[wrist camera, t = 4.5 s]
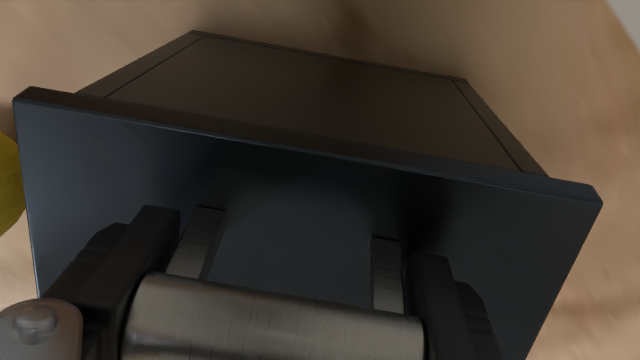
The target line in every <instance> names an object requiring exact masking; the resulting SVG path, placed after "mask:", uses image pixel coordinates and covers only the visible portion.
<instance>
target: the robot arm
mask: <svg viewBox="0 0 640 360" xmlns="http://www.w3.org/2000/svg"><path fill="white" fill-rule="evenodd" d="M180 224H181V214H180V211H179V210H175V209H169V208H163V207H158V206H152V205H144V206H143V207H142V208H141V210H140V211H139V212H138V214H137V215H136V216H135V218H134V219H133V220H132V221H131V223H130V224H123V223H117V222H115V223H114V224H112V225H110V226H108V227H106V228H104V229H102V230H100V231H98V232H96V233H95V234H94V236H93V237H92V238H91V239H90V240H89V241H88V243H87V244H86V245H85V246H84V249H82V250H81V251H80V252H79V253H78V255H77V256H76V257H75V259H74V261H72V262H71V263H70V264H69V265H68V266H67V268H66V269H65V270H64V271H63V272H62V273H61V275H60V276H59V277H58V278H57V279H56V281H55V282H54V283H53V284H52V285H51V286H50V288H49V289H48V290H47V291H46V292H45V294H44V295H43V296H42V297H41V298H38V299H31V300H26V301H22V302H19V303H16V304H14V305H11V306H9V307H7V308H5V309H4V310H2V311H1V312H0V360H120V358H119V352H120V341H121V334H122V329H123V324H124V320H125V316H126V313H127V309H128V306H129V303H130V300H131V298H132V295H133V293H134V291H135V289H136V286H137V285H138V283H139V281H140V280H141V278H142V277H143V275H144V274H145V273H147V272H150V271H156V272H162V273H163V272H164V270H165V268H166V266H167V264H168V262H169V260H170V258H171V256H172V254H173V252H174V250H175V247H176V245H177V243H178V241H179V237H180ZM403 280H404V292H405V304H406V314H407V315H413V316H417V317H419V318H421V319H422V321H423V323H424V327H425V332H426V340H427V360H504V359H503V356H502V354H501V351H500V348H499V345H498V342H497V339H496V337H495V334H494V333H493V328H492V325H491V322H490V320H489V319H488V314H487V311H486V308H485V305H484V302H483V300H482V298H481V297H480V296H479V295H478V294H477V293H476V292H475V290H474V289H473V288H472V287H471V286H470V285H469V284H468V283H464V282H458V281H454V278H453V275H452V271H451V268H450V264H449V261H448V258H447V257H445V256H440V255H434V254H428V253H422V252H416V251H413V252H412V253H411V255H410V258H409V261H408V264H407V268H406V272H405V275H404V279H403Z"/></svg>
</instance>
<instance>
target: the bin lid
mask: <svg viewBox="0 0 640 360" xmlns="http://www.w3.org/2000/svg"><path fill="white" fill-rule="evenodd" d="M12 105H13V113H14V120H15V128H16V136H17V143H18V151H19V158H20V166H21V174H22V181H23V189H24V197H25V204H26V212H27V219H28V227H29V235H30V242H31V250H32V257H33V265H34V273H35V280H36V288H37V295H38V298H41V297H42V296H43V295H44V294H45V292H46V291H47V290H48V289H49V288H50V286H51V285H52V284H53V283H54V282H55V281H56V279H57V278H58V277H59V276H60V275H61V273H62V272H63V271H64V270H65V269H66V268H67V266H68V265H69V264H70V263H71V262H72V261H74V259H75V257H76V256H77V255H78V253H79V252H80V251H81V250H82V249H84V246H85V245H86V244H87V243H88V241H89V240H90V239H91V238H92V237H93V236H94V234H95V233H96V232H98V231H100V230H102V229H104V228H106V227H108V226H110V225H112V224H114V223H115V222H117V223H123V224H130V223H131V221H132V220H133V219H134V218H135V216H136V215H137V214H138V212H139V211H140V210H141V208H142V207H143V206H144V205H152V206H158V207H163V208H169V209H175V210H179V211H180V214H181V224H180V237H179V241H178V243H177V245H176V247H175V250H174V252H173V254H172V256H171V258H170V260H169V262H168V264H167V266H166V268H165V270H164V272H163V273H162V272H156V271H150V272H147V273H145V274H144V275H143V277H142V278H141V280H140V281H139V283H138V285H137V286H136V289H135V291H134V293H133V295H132V298H131V300H130V303H129V306H128V309H127V313H126V316H125V320H124V324H123V329H122V334H121V341H120V352H119V358H120V360H427V340H426V332H425V327H424V323H423V321H422V319H421V318H419V317H417V316H413V315H407V314H406V304H405V292H404V280H403V279H404V275H405V272H406V268H407V264H408V261H409V258H410V255H411V253H412V252H413V251H416V252H422V253H428V254H434V255H440V256H445V257H447V258H448V261H449V264H450V268H451V271H452V275H453V278H454V281H458V282H464V283H468V284H469V285H470V286H471V287H472V288H473V289H474V290H475V292H476V293H477V294H478V295H479V296H480V297H481V298H482V300H483V302H484V305H485V308H486V311H487V314H488V319H489V320H490V322H491V325H492V328H493V333H494V334H495V337H496V339H497V342H498V345H499V348H500V351H501V354H502V356H503V359H504V360H525V359H526V357H527V355H528V353H529V351H530V349H531V347H532V345H533V343H534V341H535V339H536V337H537V335H538V333H539V331H540V329H541V327H542V325H543V323H544V321H545V319H546V317H547V315H548V313H549V311H550V310H551V308H552V306H553V304H554V302H555V300H556V298H557V296H558V294H559V292H560V290H561V288H562V286H563V284H564V282H565V280H566V278H567V276H568V274H569V272H570V270H571V268H572V266H573V264H574V262H575V260H576V258H577V256H578V254H579V252H580V250H581V248H582V246H583V244H584V242H585V240H586V238H587V236H588V234H589V232H590V230H591V228H592V226H593V224H594V222H595V220H596V218H597V216H598V214H599V212H600V210H601V208H602V206H603V201H602V199H601V198H600V196H599V195H598V193H597V192H596V190H595V189H594V187H593V186H591V185H589V184H583V183H578V182H572V181H566V180H561V179H555V178H549V177H544V176H538V175H532V174H527V173H521V172H515V171H510V170H504V169H498V168H493V167H487V166H481V165H476V164H470V163H464V162H459V161H453V160H447V159H442V158H436V157H431V156H425V155H419V154H414V153H408V152H402V151H397V150H391V149H385V148H380V147H374V146H368V145H363V144H357V143H351V142H346V141H340V140H334V139H329V138H323V137H317V136H312V135H306V134H300V133H295V132H289V131H283V130H278V129H272V128H266V127H261V126H255V125H249V124H244V123H238V122H233V121H227V120H221V119H216V118H210V117H204V116H199V115H193V114H187V113H182V112H176V111H170V110H165V109H159V108H153V107H148V106H142V105H136V104H131V103H125V102H119V101H114V100H108V99H102V98H97V97H91V96H85V95H80V94H74V93H68V92H63V91H57V90H51V89H46V88H40V87H35V86H30V87H28V88H26V89H25V90H23V91H22V92H21V93H19V94H18V95H16V96H15V97H13V100H12Z"/></svg>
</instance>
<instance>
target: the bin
mask: <svg viewBox="0 0 640 360" xmlns="http://www.w3.org/2000/svg"><path fill="white" fill-rule="evenodd" d="M74 94H80V95H85V96H91V97H97V98H102V99H108V100H114V101H119V102H125V103H131V104H136V105H142V106H148V107H153V108H159V109H165V110H170V111H176V112H182V113H187V114H193V115H199V116H204V117H210V118H216V119H221V120H227V121H233V122H238V123H244V124H249V125H255V126H261V127H266V128H272V129H278V130H283V131H289V132H295V133H300V134H306V135H312V136H317V137H323V138H329V139H334V140H340V141H346V142H351V143H357V144H363V145H368V146H374V147H380V148H385V149H391V150H397V151H402V152H408V153H414V154H419V155H425V156H431V157H436V158H442V159H447V160H453V161H459V162H464V163H470V164H476V165H481V166H487V167H493V168H498V169H504V170H510V171H515V172H521V173H527V174H532V175H538V176H544V177H549V176H548V175H547V173H546V172H545V171H544V170H543V169H542V168H541V167H540V165H539V164H538V163H537V162H536V161H535V160H534V158H533V157H532V156H531V155H530V154H529V153H528V151H527V150H526V149H525V148H524V147H523V146H522V145H521V143H520V142H519V141H518V140H517V139H516V138H515V136H514V135H513V134H512V133H511V132H510V131H509V129H508V128H507V127H506V126H505V125H504V124H503V123H502V121H501V120H500V119H499V118H498V117H497V116H496V114H495V113H494V112H493V111H492V110H491V109H490V107H489V106H488V105H487V104H486V103H485V102H484V101H483V99H482V98H481V97H480V96H479V95H478V94H477V92H476V91H475V90H474V89H473V88H472V87H471V85H470V84H469V83H468V81H467V80H466V79H461V78H456V77H450V76H445V75H439V74H433V73H428V72H422V71H417V70H411V69H406V68H400V67H394V66H389V65H383V64H378V63H372V62H367V61H361V60H355V59H350V58H344V57H339V56H333V55H328V54H322V53H316V52H311V51H305V50H300V49H294V48H289V47H283V46H277V45H272V44H266V43H261V42H255V41H250V40H244V39H239V38H233V37H227V36H222V35H216V34H211V33H205V32H200V31H194V30H192V31H190V32H188V33H186V34H184V35H182V36H180V37H179V38H177V39H175V40H173V41H171V42H169V43H167V44H165V45H164V46H162V47H160V48H158V49H156V50H154V51H152V52H150V53H148V54H147V55H145V56H143V57H141V58H139V59H137V60H135V61H133V62H132V63H130V64H128V65H126V66H124V67H122V68H120V69H118V70H117V71H115V72H113V73H111V74H109V75H107V76H105V77H103V78H102V79H100V80H98V81H96V82H94V83H92V84H90V85H88V86H87V87H85V88H83V89H81V90H79V91H77V92H75V93H74ZM549 178H550V177H549Z"/></svg>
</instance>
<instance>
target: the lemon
mask: <svg viewBox="0 0 640 360" xmlns="http://www.w3.org/2000/svg"><path fill="white" fill-rule="evenodd" d="M25 208H26V204H25V197H24V189H23V181H22V174H21V166H20V158H19V151H18V145H17V144H16V143H15V142H14V141H13V140H12V139H11V138H10V137H8V136H7V135H5V134H4V133H2V132H1V131H0V237H1V236H2V235H3V234H4V233H5V232H6V231H7V230H8V229H9V228H11V227H12V226H13V225H14V224H15V223H16V222H17V221H18V219H19V218H20V216H21V215H22V213H23V211H24V210H25Z"/></svg>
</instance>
